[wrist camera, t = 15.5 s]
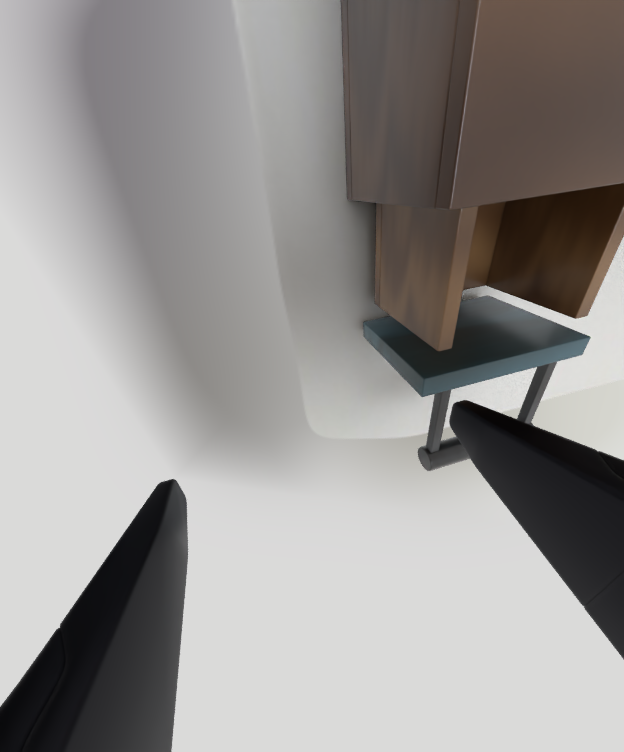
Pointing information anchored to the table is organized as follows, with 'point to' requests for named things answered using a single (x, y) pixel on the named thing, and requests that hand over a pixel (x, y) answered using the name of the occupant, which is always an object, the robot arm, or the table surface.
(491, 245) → the drawer
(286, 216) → the table surface
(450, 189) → the cabinet
